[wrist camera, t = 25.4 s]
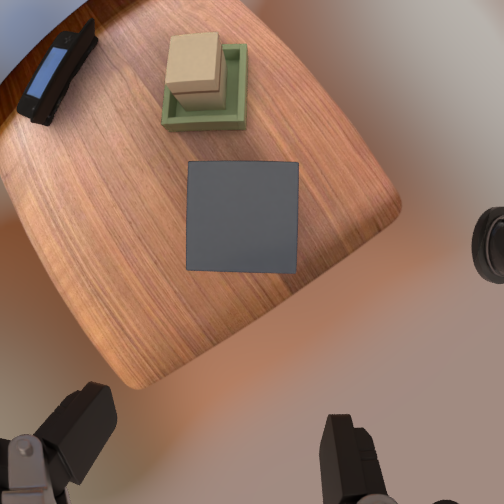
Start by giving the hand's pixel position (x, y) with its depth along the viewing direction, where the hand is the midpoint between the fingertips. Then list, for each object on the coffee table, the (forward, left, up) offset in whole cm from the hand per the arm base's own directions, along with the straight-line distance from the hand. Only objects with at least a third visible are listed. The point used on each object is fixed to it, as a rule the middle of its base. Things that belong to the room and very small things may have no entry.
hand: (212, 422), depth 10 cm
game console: (+38, -17, -28) cm, 50 cm away
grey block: (+3, -7, -28) cm, 29 cm away
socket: (+14, -20, -28) cm, 37 cm away
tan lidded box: (+14, -20, -28) cm, 37 cm away
